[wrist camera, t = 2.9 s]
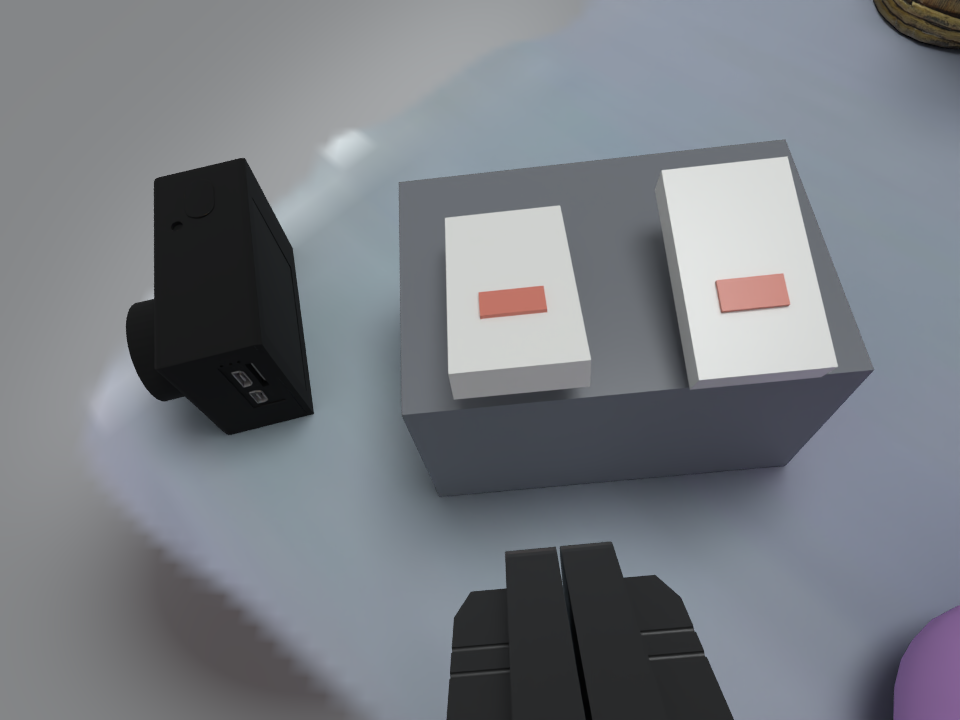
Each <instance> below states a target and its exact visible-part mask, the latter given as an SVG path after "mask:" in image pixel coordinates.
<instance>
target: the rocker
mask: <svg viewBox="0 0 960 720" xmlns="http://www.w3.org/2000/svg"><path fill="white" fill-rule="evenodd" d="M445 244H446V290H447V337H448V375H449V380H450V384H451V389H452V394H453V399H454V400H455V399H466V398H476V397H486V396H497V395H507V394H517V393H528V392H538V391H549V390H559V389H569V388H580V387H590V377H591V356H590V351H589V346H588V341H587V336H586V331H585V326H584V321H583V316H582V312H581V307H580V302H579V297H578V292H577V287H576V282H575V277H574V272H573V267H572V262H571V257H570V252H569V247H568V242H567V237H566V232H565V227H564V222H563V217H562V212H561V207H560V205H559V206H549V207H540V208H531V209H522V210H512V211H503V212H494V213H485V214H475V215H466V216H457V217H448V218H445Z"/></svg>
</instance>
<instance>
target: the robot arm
mask: <svg viewBox="0 0 960 720" xmlns="http://www.w3.org/2000/svg"><path fill="white" fill-rule="evenodd" d="M560 559H561V571H562V579H561V574H560V568H559V562H558V556H557V550H556V547H549V548H538V549H527V550H517V551H506V552H505V562H506V585H507V589H496V590H485V591H474V592H470V594H469V596H468V597H467V599H466V600H465V602H464V603H463V605H462V606H461V608H460V609H459V611H458V613H457V614H456V616H455V617H454V626H453V639H452V653H451V667H450V680H449V694H448V707H447V720H734V719H733V717H732V714H731V712H730V710H729V707H728V705H727V703H726V700H725V698H724V696H723V693H722V691H721V689H720V687H719V684H718V682H717V680H716V677H715V675H714V673H713V670H712V668H711V666H710V663H709V661H708V659H707V657H705V655H704V650H703V647H702V645H701V643H700V640H699V638H698V636H697V633H696V632H694V628H693V624H692V622H691V620H690V617H689V615H688V613H687V610H686V608H685V606H684V603H683V601H682V599H681V597H680V596H679V595H678V594H676V593H675V592H674V591H673V590H672V589H671V588H670V587H668V586H667V585H666V584H665V583H664V582H663V581H661V580H660V579H659V578H658V577H657V576H656V575H649V576H638V577H627V578H623V575H622V572H621V569H620V566H619V563H618V559H617V556H616V553H615V550H614V547H613V544H612V542H601V543H590V544H579V545H568V546H560ZM562 582H563V585H562Z"/></svg>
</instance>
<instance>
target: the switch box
mask: <svg viewBox="0 0 960 720" xmlns="http://www.w3.org/2000/svg"><path fill="white" fill-rule="evenodd" d="M787 156H788V160H789V164H790V169H791V173H792V177H793V181H794V185H795V189H796V194H797V198H798V202H799V206H800V210H801V214H802V219H803V223H804V227H805V231H806V235H807V239H808V244H809V248H810V252H811V256H812V260H813V264H814V268H815V273H816V277H817V281H818V285H819V289H820V293H821V298H822V302H823V306H824V310H825V314H826V318H827V323H828V327H829V331H830V335H831V339H832V343H833V348H834V352H835V356H836V360H837V364H838V367H837V368H835V369H834V370H832V371H830V372H829V373H827V374H826V375H824V376H822V377H818V378H808V379H797V380H787V381H776V382H766V383H755V384H745V385H734V386H724V387H714V388H703V389H693V390H690V388H689V382H688V376H687V371H686V365H685V359H684V353H683V348H682V342H681V336H680V330H679V325H678V319H677V313H676V308H675V302H674V296H673V290H672V285H671V279H670V273H669V267H668V262H667V256H666V250H665V245H664V239H663V233H662V227H661V222H660V216H659V210H658V204H657V199H656V193H655V188H656V185H657V182H658V179H659V176H660V173H661V170H669V169H678V168H687V167H696V166H705V165H714V164H723V163H732V162H741V161H751V160H760V159H769V158H778V157H787ZM559 205H560V207H561V212H562V217H563V222H564V227H565V232H566V237H567V242H568V247H569V252H570V257H571V262H572V267H573V272H574V277H575V282H576V287H577V292H578V297H579V302H580V307H581V312H582V316H583V321H584V326H585V331H586V336H587V341H588V346H589V351H590V356H591V377H590V387H580V388H569V389H559V390H549V391H538V392H528V393H517V394H507V395H497V396H486V397H476V398H466V399H455V400H454V399H453V394H452V389H451V384H450V380H449V375H448V337H447V290H446V244H445V218H448V217H457V216H466V215H475V214H485V213H494V212H503V211H512V210H522V209H531V208H540V207H549V206H559ZM399 240H400V321H401V402H402V417H403V419H404V421H405V423H406V425H407V428H408V430H409V432H410V434H411V436H412V438H413V440H414V443H415V445H416V447H417V449H418V451H419V453H420V455H421V458H422V460H423V462H424V464H425V466H426V468H427V470H428V473H429V475H430V477H431V479H432V481H433V483H434V485H435V488H436V490H437V492H438V494H439V496H440V497H442V496H453V495H464V494H475V493H486V492H497V491H508V490H519V489H530V488H541V487H552V486H563V485H574V484H585V483H597V482H608V481H619V480H630V479H641V478H652V477H663V476H674V475H685V474H696V473H707V472H718V471H729V470H740V469H751V468H763V467H774V466H785V465H786V464H787V463H788V462H789V461H790V460H791V459H792V458H793V457H794V456H795V455H796V454H797V453H798V451H799V450H800V449H801V448H802V447H803V446H804V445H805V444H806V443H807V442H808V441H809V440H810V438H811V437H812V436H813V435H814V434H815V433H816V432H817V431H818V430H819V429H820V428H821V427H822V426H823V424H824V423H825V422H826V421H827V420H828V419H829V418H830V417H831V416H832V415H833V414H834V413H835V411H836V410H837V409H838V408H839V407H840V406H841V405H842V404H843V403H844V402H845V401H846V400H847V399H848V397H849V396H850V395H851V394H852V393H853V392H854V391H855V390H856V389H857V388H858V387H859V386H860V384H861V383H862V382H863V381H864V380H865V379H866V378H867V377H868V376H869V375H870V374H871V373H872V372H873V370H874V368H873V366H872V363H871V361H870V358H869V355H868V353H867V350H866V348H865V345H864V342H863V340H862V337H861V335H860V332H859V329H858V327H857V324H856V322H855V319H854V316H853V314H852V311H851V309H850V306H849V303H848V301H847V298H846V296H845V293H844V290H843V288H842V285H841V283H840V280H839V277H838V275H837V272H836V270H835V267H834V264H833V262H832V259H831V257H830V254H829V252H828V249H827V246H826V244H825V241H824V239H823V236H822V233H821V231H820V228H819V226H818V223H817V220H816V218H815V215H814V213H813V210H812V207H811V205H810V202H809V200H808V197H807V194H806V192H805V189H804V187H803V184H802V181H801V179H800V176H799V174H798V171H797V168H796V166H795V163H794V161H793V158H792V155H791V153H790V150H789V148H788V145H787V142H786V140H775V141H766V142H757V143H748V144H739V145H730V146H721V147H712V148H703V149H694V150H685V151H676V152H667V153H658V154H649V155H640V156H631V157H622V158H613V159H604V160H595V161H586V162H577V163H568V164H559V165H550V166H541V167H532V168H523V169H514V170H505V171H496V172H487V173H478V174H469V175H460V176H451V177H442V178H433V179H424V180H415V181H406V182H399Z"/></svg>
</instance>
